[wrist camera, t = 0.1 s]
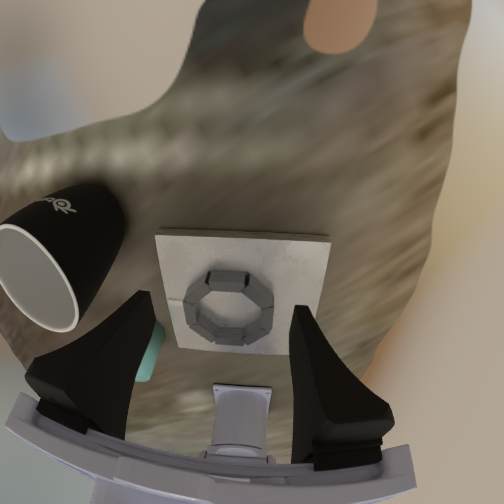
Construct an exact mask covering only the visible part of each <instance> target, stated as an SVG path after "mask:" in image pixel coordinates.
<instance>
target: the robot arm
mask: <svg viewBox="0 0 504 504" xmlns="http://www.w3.org/2000/svg"><path fill="white" fill-rule="evenodd" d="M155 323H156V317H155V313H154V309H153V305H152V300H151V296H150V292H149V291H141V290H139V291H137V292H136V293H135V294H134V295H133V296H132V297H131V298H129V299H128V300H127V301H126V302H125V303H124V304H123V305H122V306H121V307H119V308H118V309H117V310H116V311H115V312H114V313H113V314H111V315H110V316H109V317H108V318H106V319H105V320H104V321H103V322H101V323H100V324H99V325H98V326H96V327H95V328H94V329H92V330H91V331H89V332H88V333H86V334H85V335H83V336H82V337H80V338H78V339H77V340H75V341H73V342H71V343H70V344H68V345H66V346H64V347H62V348H60V349H57V350H55V351H53V352H50V353H47V354H45V355H42V356H39V357H36V358H34V360H33V362H32V363H31V365H30V367H29V368H28V370H27V372H26V374H25V379H26V381H27V383H28V384H29V385H30V387H31V388H32V389H33V390H34V391H35V392H36V393H37V394H38V396H39V397H40V398H41V399H40V401H39V402H38V401H37V400H35V399H34V398H32V397H30V396H28V395H27V394H25V393H23V392H20V394H19V396H18V398H17V400H16V402H15V404H14V406H13V408H12V410H11V412H10V414H9V417H8V419H7V421H6V423H5V427H6V428H7V429H8V430H10V431H11V432H12V433H14V434H15V435H16V436H17V437H19V438H20V439H21V440H23V441H24V442H25V443H27V444H28V445H30V446H31V447H33V448H34V449H36V450H38V451H39V452H41V453H43V454H44V455H46V456H48V457H50V458H51V459H53V460H55V461H57V462H58V463H60V464H62V465H64V466H66V467H68V468H70V469H72V470H74V471H76V472H78V473H80V474H82V475H84V476H87V477H89V478H91V479H93V480H95V481H96V482H95V486H94V490H93V493H92V498H91V501H90V504H372V503H376V502H380V501H384V500H388V499H391V498H394V497H397V496H399V495H402V494H405V493H407V492H410V491H412V490H415V489H416V488H417V485H416V479H415V473H414V468H413V463H412V457H411V452H410V448H409V445H408V444H406V445H401V446H397V447H393V448H389V449H385V450H383V451H381V447H380V446H381V445H382V444H383V441H382V437H383V436H384V435H385V434H386V433H387V432H388V431H390V430H391V429H392V427H393V426H394V424H395V421H394V417H393V414H392V410H391V408H390V406H389V404H388V403H387V402H385V401H384V400H383V399H381V398H380V397H378V396H377V395H376V394H374V393H373V392H372V391H370V390H369V389H368V388H367V387H366V386H365V385H364V384H363V383H362V382H361V381H360V380H359V379H358V378H357V377H356V376H355V375H354V374H353V373H352V372H351V371H350V370H349V369H348V368H347V367H346V365H345V364H344V363H343V362H342V361H341V359H340V358H339V357H338V355H337V354H336V353H335V351H334V350H333V348H332V347H331V346H330V344H329V343H328V341H327V339H326V338H325V336H324V334H323V333H322V331H321V329H320V328H319V326H318V324H317V322H316V320H315V318H314V317H313V315H312V312H311V310H310V308H309V307H308V305H295V306H294V311H293V316H292V321H291V325H290V330H289V358H290V366H291V375H292V383H293V395H294V414H293V442H292V456H291V464H276V460H275V459H274V458H273V457H272V456H271V455H268V456H267V450H266V421H267V415H268V409H269V404H270V398H271V392H272V389H271V388H263V387H243V386H229V385H218V384H215V385H213V391H214V397H215V402H216V413H215V420H214V426H213V433H212V441H211V446H210V445H208V449H207V451H202V452H201V453H200V454H198V456H197V457H191V456H186V455H180V454H175V453H170V452H166V451H161V450H157V449H153V448H149V447H145V446H141V445H138V444H134V443H131V442H127V441H125V430H126V421H127V415H128V409H129V403H130V399H131V394H132V390H133V386H134V382H135V378H136V375H137V372H138V369H139V367H140V364H141V362H142V359H143V357H144V355H145V352H146V350H147V347H148V345H149V342H150V340H151V337H152V334H153V331H154V327H155Z"/></svg>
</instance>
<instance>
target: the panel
mask: <svg viewBox="0 0 504 504" xmlns="http://www.w3.org/2000/svg"><path fill="white" fill-rule="evenodd" d="M155 240H156V246H157V252H158V258H159V263H160V268H161V274H162V279H163V284H164V288H165V293H166V298H167V302H168V307H169V311H170V315H171V319H172V324H173V328H174V332H175V336H176V339H177V343H178V347H180V348H189V349H198V350H208V351H219V352H232V353H247V354H268V355H289V330H290V325H291V321H292V316H293V311H294V306H295V305H308V307H309V308H310V310H311V312H312V315H313V317H314V318H315V317H316V313H317V308H318V304H319V300H320V295H321V291H322V286H323V282H324V277H325V272H326V267H327V262H328V257H329V252H330V247H331V241H330V238H329V236H328V235H312V234H293V233H273V232H251V231H226V230H198V229H163V228H159V230H158V231H157V233H156V234H155Z"/></svg>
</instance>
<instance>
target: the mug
mask: <svg viewBox="0 0 504 504" xmlns="http://www.w3.org/2000/svg"><path fill="white" fill-rule="evenodd" d="M123 235H124V219H123V215H122V212H121V209H120V207H119V205H118V203H117V202H116V200H115V199H114V198H113V197H112V196H111V195H110V194H109V193H108V192H107V191H105V190H104V189H102V188H100V187H97V186H93V185H76V186H72V187H68V188H65V189H62V190H59V191H57V192H54V193H52V194H50V195H47V196H45V197H43V198H41V199H39V200H37V201H35V202H33V203H32V204H30V205H28V206H26V207H24V208H23V209H21V210H19V211H18V212H16V213H15V214H13V215H12V216H10V217H9V218H7V219H6V220H5V221H4V222H2V223H1V224H0V283H1V285H2V287H3V288H4V290H5V292H6V293H7V295H8V296H9V297H10V299H11V300H12V301H13V303H14V304H15V305H16V306H17V307H18V308H19V309H20V310H21V311H22V312H23V313H24V314H25V315H26V316H27V317H29V318H30V319H31V320H32V321H34V322H35V323H37V324H38V325H40V326H42V327H44V328H46V329H49V330H51V331H55V332H68V331H71V330H72V329H74V328H75V327H76V326H77V324H78V323H79V322H80V320H81V319H82V317H83V316H84V314H85V312H86V311H87V309H88V307H89V306H90V304H91V302H92V301H93V299H94V297H95V296H96V294H97V292H98V290H99V289H100V287H101V285H102V283H103V281H104V280H105V278H106V276H107V274H108V272H109V270H110V268H111V266H112V264H113V262H114V260H115V258H116V256H117V254H118V251H119V249H120V246H121V243H122V240H123Z"/></svg>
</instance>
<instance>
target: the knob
mask: <svg viewBox="0 0 504 504" xmlns="http://www.w3.org/2000/svg"><path fill="white" fill-rule="evenodd" d="M164 337H165V331H164V329H163V327H162V326H161V325H160V324H159V323H158V322H157V321H156V323H155V327H154V331H153V334H152V337H151V340H150V342H149V345H148V347H147V350H146V352H145V355H144V357H143V359H142V362H141V364H140V367H139V369H138V372H137V375H136V378H135V381H138V382H146V381H148V380H149V379H150V377H151V374H152V371H153V368H154V365H155V363H156V360H157V357H158V354H159V351H160V348H161V345H162V343H163V340H164Z"/></svg>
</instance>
